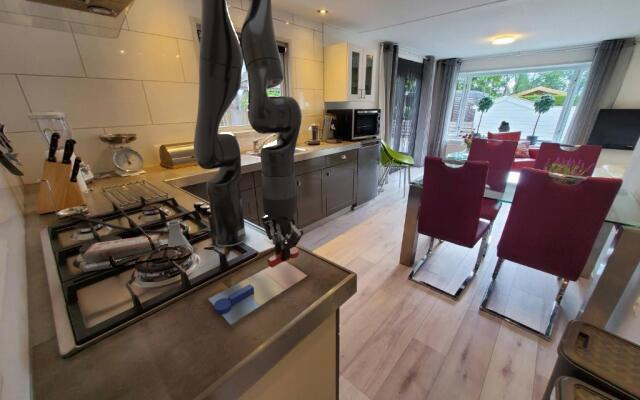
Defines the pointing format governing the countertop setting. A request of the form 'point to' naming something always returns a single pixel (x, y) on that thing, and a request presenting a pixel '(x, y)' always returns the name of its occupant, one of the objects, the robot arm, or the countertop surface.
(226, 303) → the blue spoon
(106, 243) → the packaged product
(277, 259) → the red spoon
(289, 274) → the sorting mat
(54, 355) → the countertop surface
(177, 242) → the flask
